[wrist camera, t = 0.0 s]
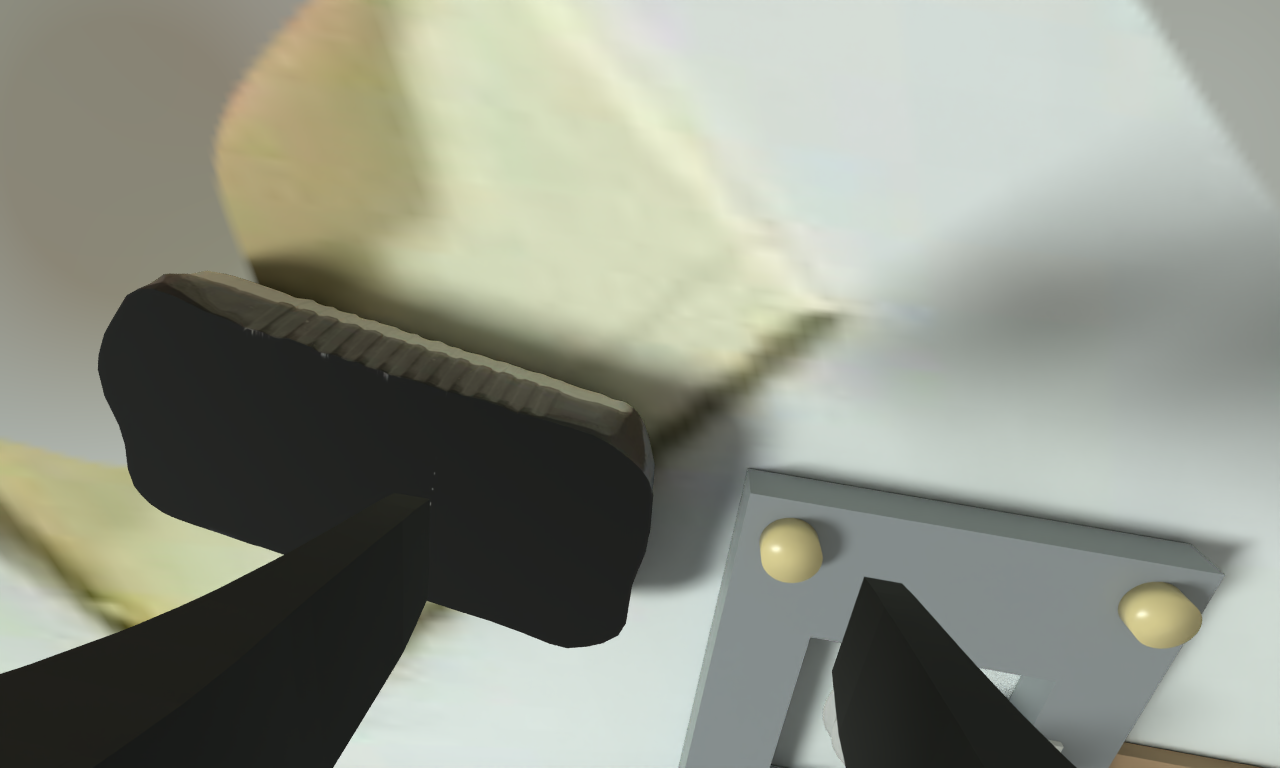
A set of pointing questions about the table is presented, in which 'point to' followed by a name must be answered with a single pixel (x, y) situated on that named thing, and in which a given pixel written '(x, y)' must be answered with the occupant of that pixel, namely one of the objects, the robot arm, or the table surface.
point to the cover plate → (943, 609)
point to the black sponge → (382, 447)
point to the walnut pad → (1165, 759)
